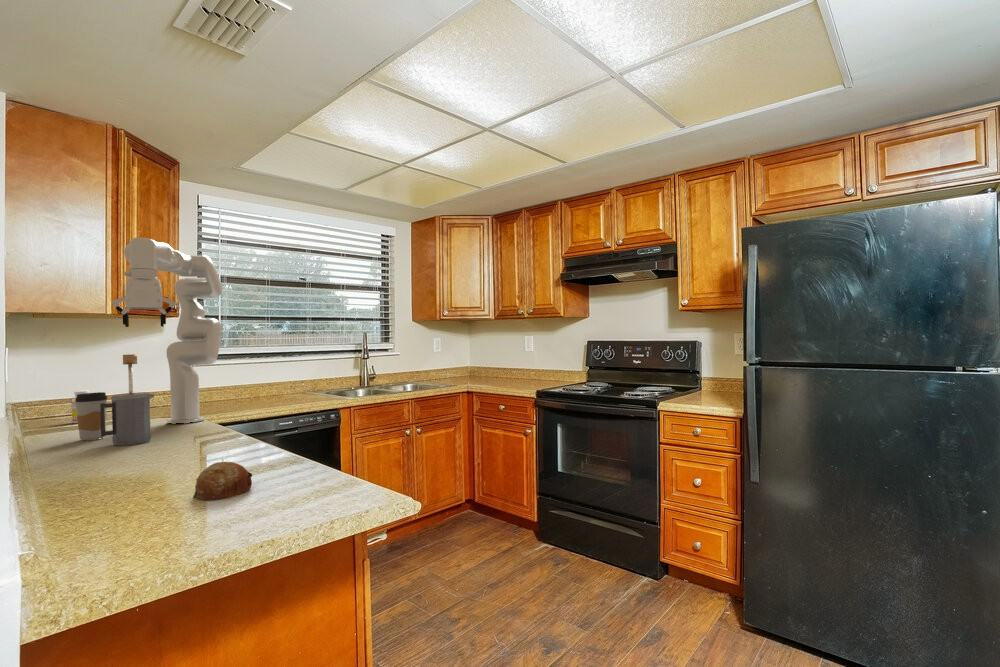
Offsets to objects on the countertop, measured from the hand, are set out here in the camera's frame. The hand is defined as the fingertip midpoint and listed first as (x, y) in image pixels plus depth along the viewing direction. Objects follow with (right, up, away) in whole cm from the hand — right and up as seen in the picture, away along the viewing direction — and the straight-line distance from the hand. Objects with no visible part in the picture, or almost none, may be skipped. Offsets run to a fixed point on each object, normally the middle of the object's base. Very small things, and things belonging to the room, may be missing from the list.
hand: (144, 326), depth 169 cm
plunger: (+4, -28, -11) cm, 30 cm away
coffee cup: (-16, -37, -2) cm, 40 cm away
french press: (+4, -36, -11) cm, 38 cm away
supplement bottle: (-52, -39, +39) cm, 76 cm away
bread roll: (+64, -34, -68) cm, 100 cm away
